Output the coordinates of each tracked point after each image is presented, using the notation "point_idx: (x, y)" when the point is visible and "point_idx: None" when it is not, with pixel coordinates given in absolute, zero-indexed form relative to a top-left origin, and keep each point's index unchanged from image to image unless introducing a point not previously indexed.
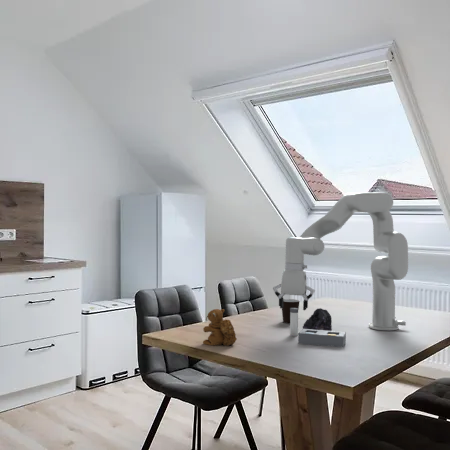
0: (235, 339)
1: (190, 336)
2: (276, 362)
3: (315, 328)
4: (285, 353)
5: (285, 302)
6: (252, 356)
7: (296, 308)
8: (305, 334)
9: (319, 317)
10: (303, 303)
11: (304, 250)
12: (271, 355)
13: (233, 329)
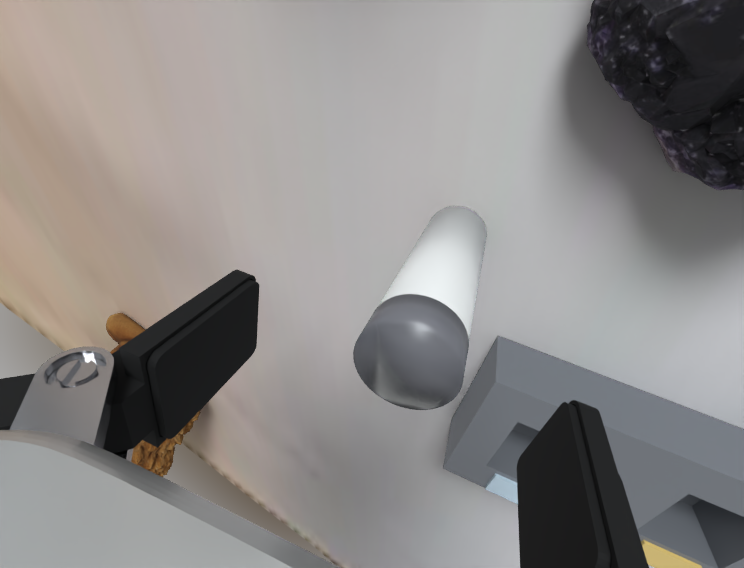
0: (196, 419)
1: (26, 259)
2: (359, 559)
3: (706, 184)
4: (385, 512)
5: None
6: (291, 504)
7: (436, 370)
8: (485, 482)
9: None
10: (522, 562)
11: None
12: (341, 514)
13: (162, 470)
